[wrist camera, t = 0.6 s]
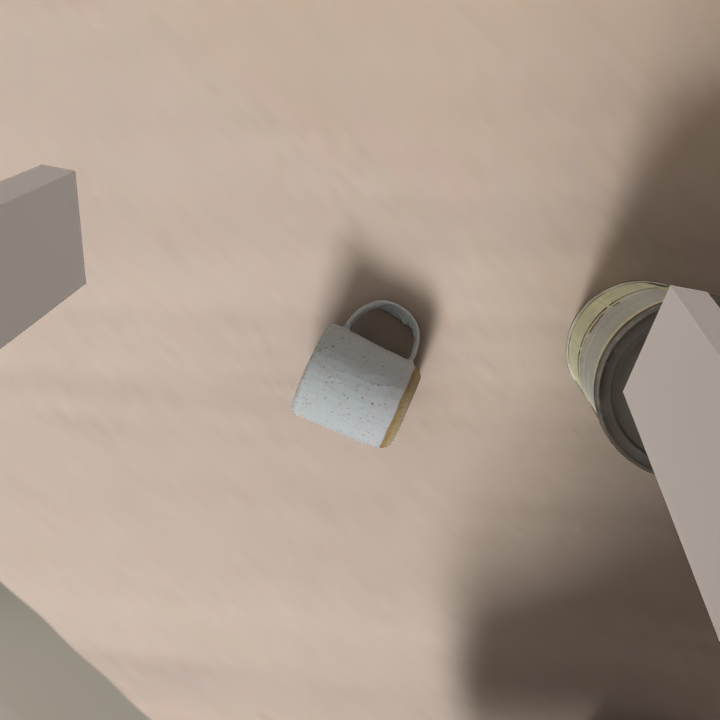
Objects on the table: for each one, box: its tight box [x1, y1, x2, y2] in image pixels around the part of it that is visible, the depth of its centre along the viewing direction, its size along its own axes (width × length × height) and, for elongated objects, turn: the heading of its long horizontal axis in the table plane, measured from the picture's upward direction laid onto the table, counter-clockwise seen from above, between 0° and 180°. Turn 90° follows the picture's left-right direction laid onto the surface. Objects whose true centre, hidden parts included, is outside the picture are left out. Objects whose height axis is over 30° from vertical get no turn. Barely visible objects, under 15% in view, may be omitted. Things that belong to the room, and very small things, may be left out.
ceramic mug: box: [292, 300, 421, 448], centre depth 48 cm, size 11×8×8 cm
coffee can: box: [566, 281, 720, 475], centre depth 40 cm, size 10×10×14 cm
